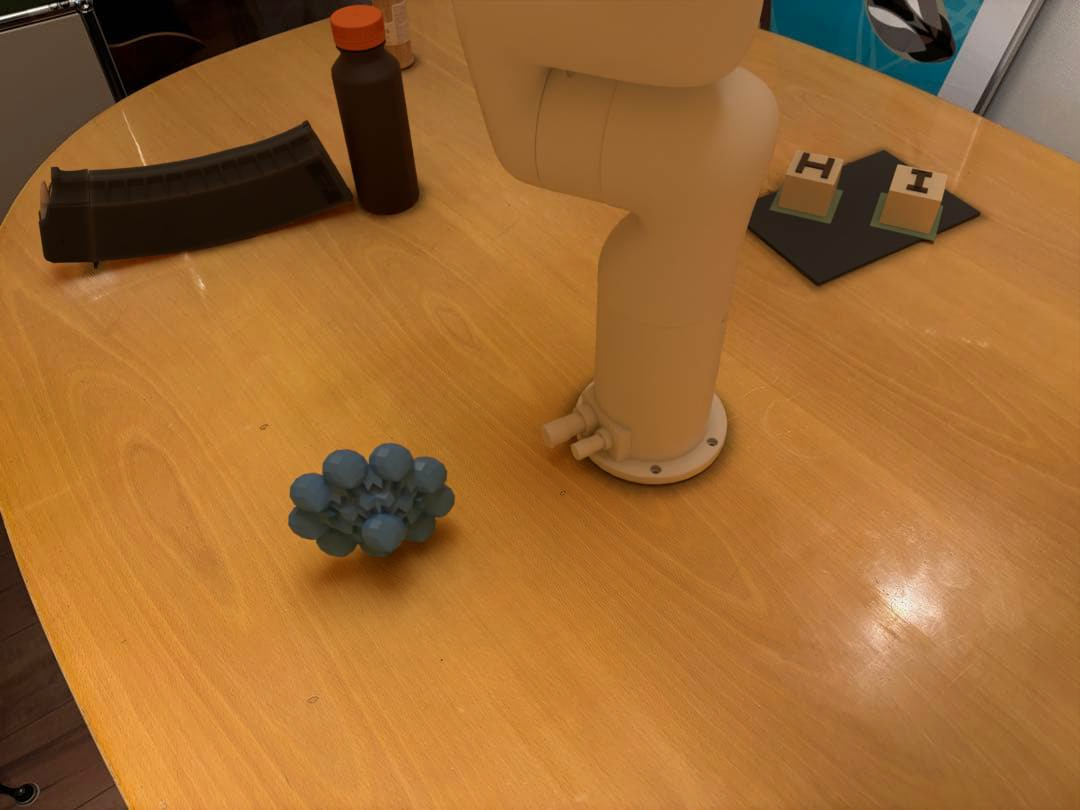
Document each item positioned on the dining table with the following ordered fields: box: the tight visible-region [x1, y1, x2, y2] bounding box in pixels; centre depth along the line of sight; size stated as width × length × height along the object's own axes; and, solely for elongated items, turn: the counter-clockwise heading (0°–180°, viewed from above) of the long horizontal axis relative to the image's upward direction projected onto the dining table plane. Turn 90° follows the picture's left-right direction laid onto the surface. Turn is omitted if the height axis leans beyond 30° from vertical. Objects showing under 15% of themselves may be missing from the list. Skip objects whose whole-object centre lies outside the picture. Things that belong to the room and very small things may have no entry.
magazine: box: [37, 119, 355, 270], centre depth 88 cm, size 17×3×30 cm
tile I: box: [879, 164, 949, 234], centre depth 89 cm, size 5×5×4 cm
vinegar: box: [329, 4, 420, 215], centre depth 88 cm, size 7×7×20 cm
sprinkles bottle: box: [371, 0, 415, 70], centre depth 111 cm, size 5×5×13 cm
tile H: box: [778, 149, 845, 217], centre depth 91 cm, size 5×5×4 cm
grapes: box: [287, 442, 456, 558], centre depth 60 cm, size 12×7×12 cm, turn 112°
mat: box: [747, 149, 982, 287], centre depth 92 cm, size 22×16×1 cm
